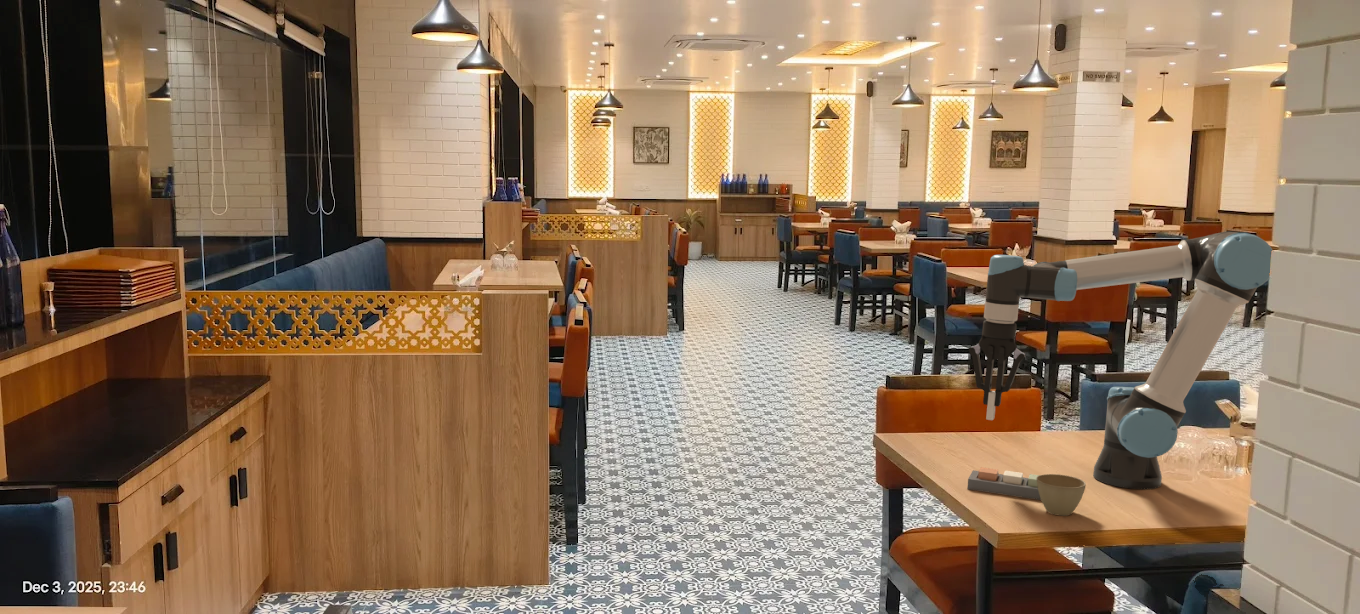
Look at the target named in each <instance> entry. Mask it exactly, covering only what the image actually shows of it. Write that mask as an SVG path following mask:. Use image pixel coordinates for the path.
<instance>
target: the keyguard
mask: <svg viewBox="0 0 1360 614" xmlns="http://www.w3.org/2000/svg"><path fill="white" fill-rule="evenodd" d="M978 474H979V470H974V469H973V470H972V471H971V473H970V475H969V477H968V478H967V490H971V491H978V492H986V493H991V494H992V493H993V494H1000V495H1007V496H1011V497H1019V498H1025V499H1033V500H1038V501H1042V500H1041V498H1040V495H1039V491H1038V487H1033V486H1028V478H1029V477H1024V476H1023V480H1022V485H1019V484H1012V483H1005V482H1003V474H1004V473H1003V474H1001V473H998V480H997V481H992V480H985V479H978Z"/></svg>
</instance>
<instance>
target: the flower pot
mask: <svg viewBox="0 0 1360 614" xmlns="http://www.w3.org/2000/svg"><path fill="white" fill-rule="evenodd" d="M1038 475H1039V476H1038V477H1037V486H1038V491H1039V495H1040V498H1041V500H1040V501H1041V503H1042V505H1043V506H1044V508H1045V510H1046V512H1048V513H1049V514H1051V515H1056V516H1060V517H1061V516H1063V517H1066V516H1070V515H1072V514H1073V512H1074V511H1075V510H1076V508H1077V507H1079V504H1080V502H1081V500H1082V498H1083V495H1084V494H1085V490H1086V486H1087V483H1086V481H1084V480H1083V479H1081V478H1078V477H1076V476H1072V475H1066V474H1059V473H1055V474H1054V473H1047V474H1046V473H1045V474H1038Z"/></svg>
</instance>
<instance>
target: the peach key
mask: <svg viewBox="0 0 1360 614" xmlns="http://www.w3.org/2000/svg"><path fill="white" fill-rule="evenodd" d="M978 471H979V474H978V479H985V480H992V481H997V480H998V474H999V469H997V468H990V467H982V466H981V467H980V468H979V470H978Z"/></svg>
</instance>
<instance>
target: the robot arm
mask: <svg viewBox="0 0 1360 614" xmlns="http://www.w3.org/2000/svg"><path fill="white" fill-rule="evenodd" d="M1272 250H1273V249H1272V247H1271V245H1270V244H1269V243H1268V242H1267V241H1266V240H1264V239H1263V238H1261V237H1259V236H1257V235H1255V234H1251V233H1249V232H1237V231H1232V230H1231V231H1222V232H1218V233H1217V232H1216V233H1212V234H1208V235H1205V236H1200V237H1195V238H1189V239H1181V241H1180V242H1179V244H1176V245H1169V246H1163V247H1153V248H1149V249H1148V248H1146V249H1140V250H1132V251H1125V252H1117V253H1109V254H1102V255H1095V256H1088V257H1087V256H1086V257H1081V258H1080V257H1079V258H1072V259H1066V260H1065V259H1064V260H1058V261H1051V262H1050V261H1049V262H1048V261H1041V262H1037V263H1036V264H1034V265H1027V264H1025V262H1024V258H1023V257H1022V256H1019V255H1012V254H1011V255H1010V254H1009V255H1008V254H994V255H992V256H991V257H990V260H989V266H988V271H987V272H988V273H987V282H986V292H985V302H984V312H983V318H984V320H983V323H982V331H981V338H980V340H979V341H978V343H976V345H972V346H970V347H969V348H968V352H969V354H970V356H971V358H972V363H973V370H974V378H975V383H976V387H977V388H978V389H981V390H982V391H983V401H982V403H983V405H986V407H987V408H986V418H985V419H986V420H988V421H993V420H994V419H995V415H996V407H1000V405H1001V403H1002V394H1003V393H1007V392H1009V391H1010V390H1011V387H1012V385H1013V383H1014V380H1015V377H1016V374H1017V371H1018V369H1019V367H1020V363H1021V362H1022V361H1023V359H1024V358H1025V357H1026V353H1025V351H1023V352H1022V351H1021V350H1020V349H1018V347H1017V345H1018V344H1017V343H1016V338H1017V337H1016V335H1017V328H1018V327H1017V326H1018V325H1017V323H1016V322H1017V321H1018V319H1019V318H1018V317H1019V316H1018V315H1019V306H1020V298H1026V299H1027V298H1028V299H1029V298H1030V299H1038V300H1047V301H1048V300H1050V301H1057V302H1060V301H1062V302H1063V301H1064V302H1071V301H1073V300H1074V299H1075V297H1076V294H1077V291H1078V290H1086V289H1094V288H1095V289H1096V288H1102V287H1103V288H1104V287H1105V288H1106V287H1110V286H1111V287H1112V286H1118V285H1119V286H1121V285H1127V284H1128V285H1129V284H1136V283H1144V282H1153V281H1162V280H1168V279H1169V280H1170V279H1178V278H1183V279H1184V280H1186V281H1189V282H1190V281H1195V285H1196V287H1197V290H1196V292H1195V294H1194V295H1193V298H1192V299H1191V301H1190V303H1188V306H1187V308H1186V309H1185V312H1184V314H1182V317H1181V319H1180V320H1179V323H1178V324H1177V326H1176V327H1175V329H1174V332H1173V333H1172V335H1171V336H1170V338H1169V341H1168V342H1167V344H1166V345H1165V348H1164V349H1163V350H1162V353H1161V354H1160V357H1159V358H1158V360H1157V362H1156V363H1155V365H1154V367H1153V369H1152V371H1151V372H1150V374H1149V376H1148V378H1147V380H1146V381H1145V383H1143V384H1140V385H1136V386H1134V387H1131V386H1112V387H1110V389H1109V390H1108V395H1107V397H1106V400H1107V404H1106V405H1107V406H1106V417H1105V427H1104V440H1103V446H1102V449H1101V451H1100V454H1099V456H1098V457H1097V460H1096V462H1095V464H1094V466H1093V478H1095V479H1096V480H1098V481H1099V482H1101V483H1104V484H1106V485H1110V486H1114V487H1118V488H1125V489H1131V490H1132V489H1133V490H1154V489H1159V488H1160V487H1161V486H1162V478H1163V475H1162V471H1161V467H1160V464H1159V460H1158V457H1161V456H1163V455H1165V454H1166V453H1168V452H1169V451H1170V450H1171V449H1173V447H1174V445H1176V442H1177V439H1178V434H1179V433H1178V426H1179V425H1180V422H1181V421H1182V419H1183V417H1184V416H1185V414H1186V412H1187V410H1186V407H1185V404H1184V401H1185V399H1186V397H1187V395H1188V394H1189V392H1190V390H1191V388H1192V387H1193V384H1194V383H1195V382H1196V379H1197V377H1198V376H1199V374H1200V373H1201V370H1202V369H1203V367H1204V366H1205V364H1206V362H1207V360H1208V359H1209V357H1210V355H1211V353H1213V350H1214V348H1215V347H1216V344H1217V343H1218V341H1219V339H1220V338H1221V337H1222V334H1223V333H1224V330H1225V329H1226V327H1227V325H1228V323H1229V322H1230V320H1231V318H1232V317H1233V315H1234V313H1235V311H1236V309H1237V308H1238V307H1239V306H1242V305H1245V304H1248V303H1249V302H1250V300H1251V299H1252V297H1253V295H1254V294H1255V292H1256V291H1257V288H1259V287H1261V286H1263V285H1264V284H1265V283H1266V282H1268V280H1270V278H1269V273H1270V257H1271V251H1272ZM981 351H982V353H983V354H984V356H985V357H986V367H985V368H986V369H985V376H984V377H985V378H984V377H983V370H982V364H981V357H980V353H981ZM1013 353H1014V355H1013ZM1012 355H1013V358H1014V361H1013V363H1012V365H1011V368H1010V370H1009V374H1008V377H1007V379H1006V381H1005V383H1004V375H1005V366H1006V360H1008V359H1009V357H1010V356H1012ZM995 360H996V361H997V371H996V373H997V374H996V382H995V390H991V389H992V382H993V373H994V363H995ZM983 378H984V379H983Z"/></svg>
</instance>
